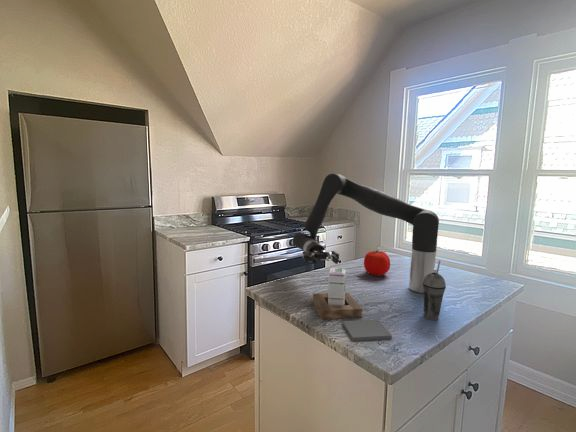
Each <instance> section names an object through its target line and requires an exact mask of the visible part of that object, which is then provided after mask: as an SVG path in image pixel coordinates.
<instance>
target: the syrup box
mask: <svg viewBox="0 0 576 432" xmlns="http://www.w3.org/2000/svg"><path fill="white" fill-rule="evenodd" d="M346 272H347V271H346V268H342V267H330V268H329V271H328V284H327V285H328V286H327V288H328V290H327V294H328V305H329V306H341V305H345V293H346V274H347V273H346Z"/></svg>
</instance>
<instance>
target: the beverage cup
mask: <svg viewBox="0 0 576 432" xmlns="http://www.w3.org/2000/svg"><path fill="white" fill-rule="evenodd" d="M440 266H441V260H438V263H437V266H436V267H437V268H436V270H437V272H436V273H429V274H428V275H426V276H425V278H424V280H423V290H424V293H423V317H424V318H425V319H427V320H431V321H438V320H439V316H440V313H441V309H442V303H443V299H444V293H445V292H446V288H447V285H446V280H445V278H444V277H443V275H441V274H440V273H439V270H440Z"/></svg>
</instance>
